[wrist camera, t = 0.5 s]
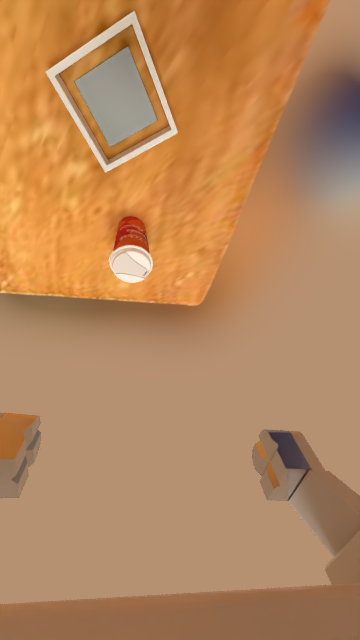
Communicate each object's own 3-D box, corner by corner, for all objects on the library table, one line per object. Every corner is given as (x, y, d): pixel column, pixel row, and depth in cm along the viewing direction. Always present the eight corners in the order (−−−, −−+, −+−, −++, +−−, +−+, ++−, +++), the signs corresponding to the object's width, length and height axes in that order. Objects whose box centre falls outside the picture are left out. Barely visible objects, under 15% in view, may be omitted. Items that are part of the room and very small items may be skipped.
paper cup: (156, 222, 55) (160, 260, 46) (140, 250, 59) (141, 290, 50) (121, 204, 51) (119, 241, 42) (107, 235, 56) (101, 275, 46)
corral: (50, 69, 37) (45, 71, 35) (134, 12, 34) (134, 10, 32) (106, 166, 46) (105, 172, 44) (175, 128, 43) (178, 132, 41)
